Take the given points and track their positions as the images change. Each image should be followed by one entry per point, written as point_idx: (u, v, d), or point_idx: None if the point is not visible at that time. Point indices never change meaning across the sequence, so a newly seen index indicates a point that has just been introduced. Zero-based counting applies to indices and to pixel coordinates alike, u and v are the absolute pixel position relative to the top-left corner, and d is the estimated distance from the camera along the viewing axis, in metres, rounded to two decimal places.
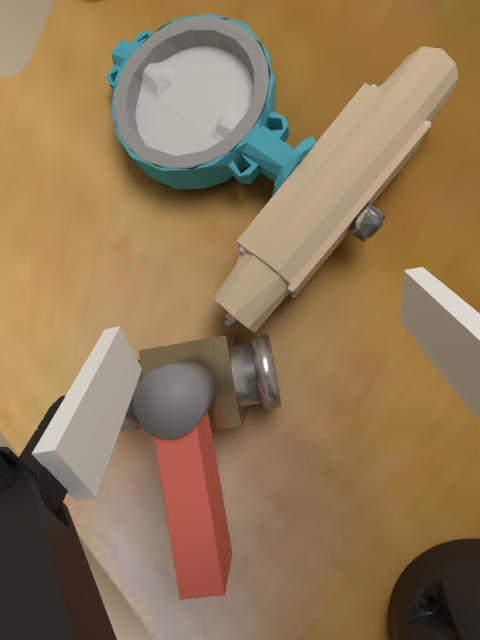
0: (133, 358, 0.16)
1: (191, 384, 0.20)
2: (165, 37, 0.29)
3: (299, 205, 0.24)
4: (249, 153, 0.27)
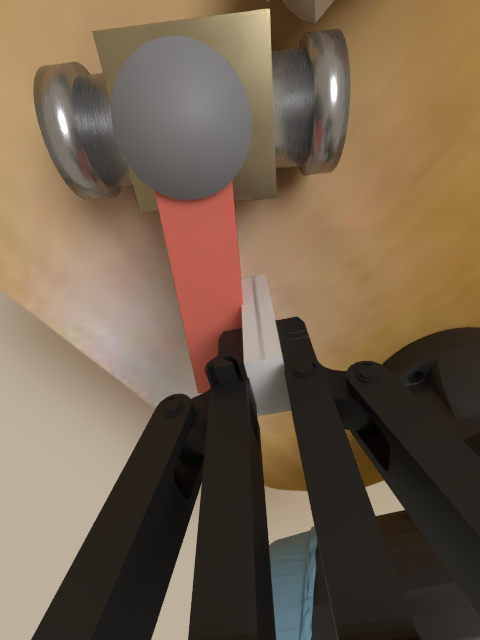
0: None
1: (232, 87, 0.10)
2: None
3: None
4: None
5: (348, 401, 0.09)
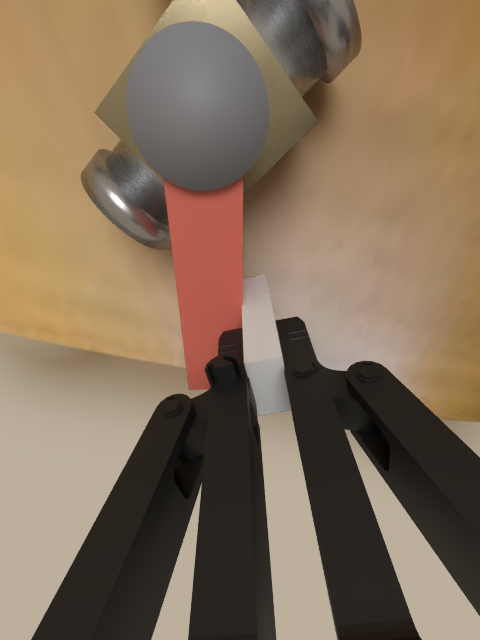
0: None
1: (252, 80, 0.09)
2: None
3: None
4: None
5: (348, 401, 0.09)
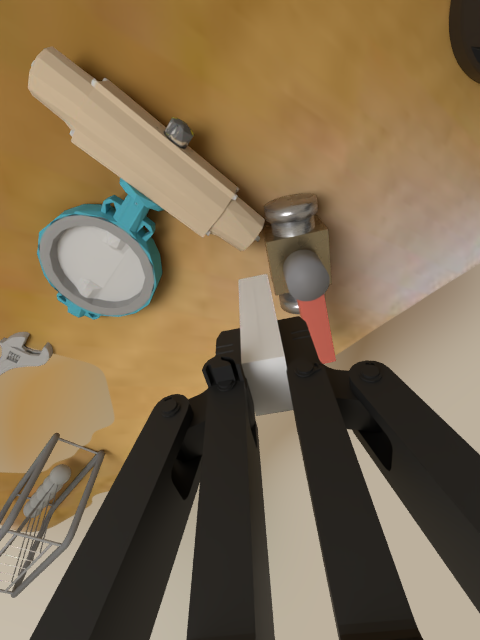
0: None
1: (323, 271, 0.33)
2: (61, 285, 0.42)
3: (175, 194, 0.33)
4: (136, 227, 0.37)
5: (350, 401, 0.09)
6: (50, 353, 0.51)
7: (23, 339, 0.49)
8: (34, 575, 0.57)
